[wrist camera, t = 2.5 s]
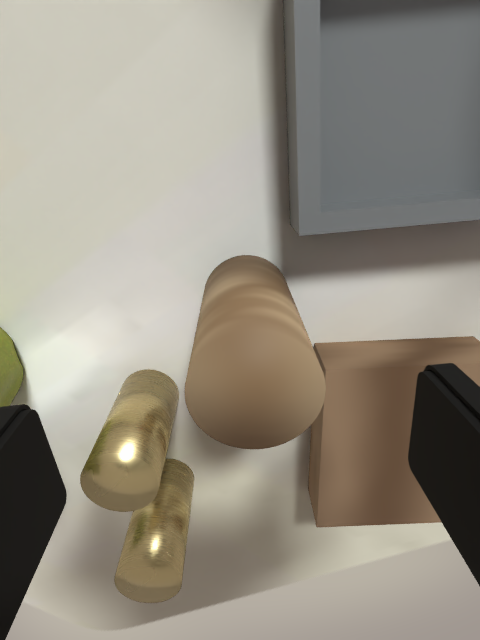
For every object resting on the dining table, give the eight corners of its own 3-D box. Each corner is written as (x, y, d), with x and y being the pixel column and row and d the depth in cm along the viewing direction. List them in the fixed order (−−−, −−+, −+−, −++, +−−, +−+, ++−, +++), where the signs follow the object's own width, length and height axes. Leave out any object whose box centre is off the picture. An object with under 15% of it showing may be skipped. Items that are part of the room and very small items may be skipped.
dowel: (286, 251, 17) (325, 324, 10) (289, 330, 19) (325, 443, 12) (198, 259, 17) (174, 337, 10) (209, 337, 19) (194, 454, 12)
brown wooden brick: (468, 332, 20) (506, 362, 17) (436, 478, 24) (462, 521, 21) (312, 339, 20) (325, 369, 17) (306, 483, 24) (316, 527, 21)
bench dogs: (174, 367, 20) (151, 450, 14) (197, 494, 23) (186, 600, 18) (116, 372, 20) (71, 457, 14) (148, 498, 23) (122, 604, 18)
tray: (568, -93, 13) (641, -146, 10) (510, 204, 17) (555, 213, 14) (281, -63, 13) (291, -108, 11) (290, 224, 17) (299, 235, 15)
